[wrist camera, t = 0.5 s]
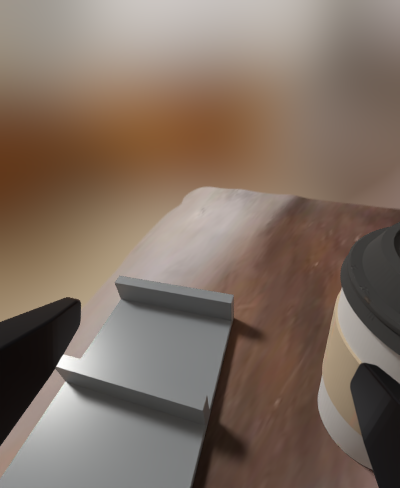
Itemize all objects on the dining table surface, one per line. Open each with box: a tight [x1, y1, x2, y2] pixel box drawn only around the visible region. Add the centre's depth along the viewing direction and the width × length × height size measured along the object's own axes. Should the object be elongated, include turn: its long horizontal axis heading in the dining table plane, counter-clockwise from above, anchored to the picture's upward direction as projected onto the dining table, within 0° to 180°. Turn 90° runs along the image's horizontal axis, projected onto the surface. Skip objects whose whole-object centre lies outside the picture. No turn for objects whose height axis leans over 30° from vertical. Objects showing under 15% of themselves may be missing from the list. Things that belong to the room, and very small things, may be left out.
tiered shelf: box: [0, 276, 234, 488], centre depth 20 cm, size 19×12×3 cm, turn 163°
